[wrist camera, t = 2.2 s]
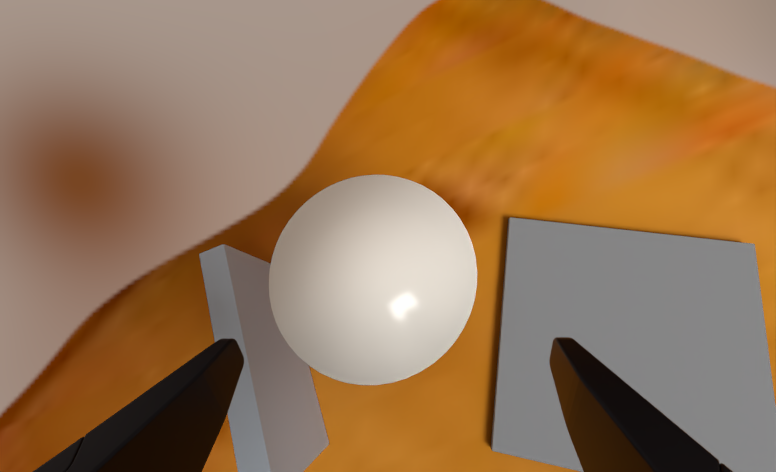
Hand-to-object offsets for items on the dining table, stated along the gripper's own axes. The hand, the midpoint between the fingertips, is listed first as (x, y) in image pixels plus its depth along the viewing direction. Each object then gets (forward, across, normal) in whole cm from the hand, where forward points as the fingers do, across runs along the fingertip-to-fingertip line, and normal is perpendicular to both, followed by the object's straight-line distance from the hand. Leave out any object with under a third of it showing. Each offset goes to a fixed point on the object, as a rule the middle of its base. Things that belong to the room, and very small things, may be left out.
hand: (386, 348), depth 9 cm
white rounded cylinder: (+8, 0, +5) cm, 9 cm away
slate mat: (+6, -11, +7) cm, 14 cm away
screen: (+6, +7, +7) cm, 11 cm away
